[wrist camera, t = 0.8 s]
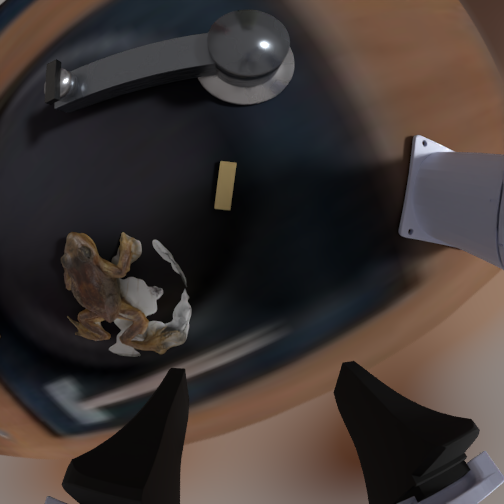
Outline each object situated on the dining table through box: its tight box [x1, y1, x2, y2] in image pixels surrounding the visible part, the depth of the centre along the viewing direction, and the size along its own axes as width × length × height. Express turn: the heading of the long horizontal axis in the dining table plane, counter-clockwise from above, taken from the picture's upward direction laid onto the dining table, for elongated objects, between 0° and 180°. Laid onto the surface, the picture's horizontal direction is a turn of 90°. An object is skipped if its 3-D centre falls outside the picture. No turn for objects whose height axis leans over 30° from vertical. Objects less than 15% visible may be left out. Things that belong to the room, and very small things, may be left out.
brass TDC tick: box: [214, 161, 237, 210], centre depth 17 cm, size 1×3×1 cm, turn 173°
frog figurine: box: [61, 232, 192, 357], centre depth 17 cm, size 12×12×4 cm
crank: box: [44, 10, 290, 113], centre depth 12 cm, size 14×4×4 cm, turn 97°
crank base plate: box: [198, 47, 294, 105], centre depth 15 cm, size 6×6×1 cm
